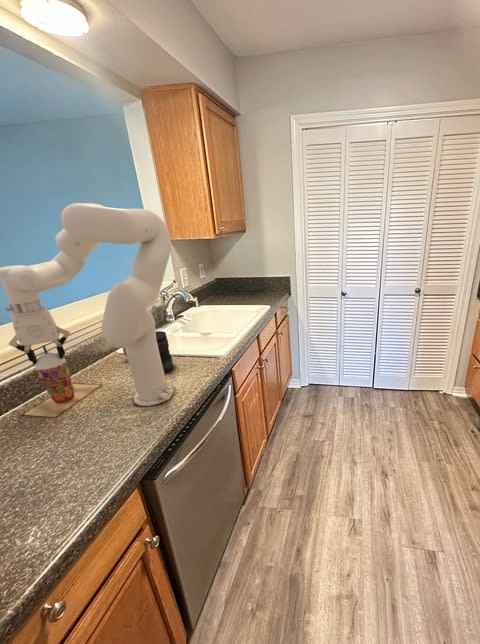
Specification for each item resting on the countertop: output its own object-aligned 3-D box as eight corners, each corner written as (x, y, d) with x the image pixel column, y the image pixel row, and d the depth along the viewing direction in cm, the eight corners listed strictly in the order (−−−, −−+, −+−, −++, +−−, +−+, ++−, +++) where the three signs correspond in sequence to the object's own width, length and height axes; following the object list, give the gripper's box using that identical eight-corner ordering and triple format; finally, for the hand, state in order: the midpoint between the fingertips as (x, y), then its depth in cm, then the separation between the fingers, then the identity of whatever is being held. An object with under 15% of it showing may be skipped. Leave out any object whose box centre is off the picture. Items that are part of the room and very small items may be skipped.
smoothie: (48, 408, 107) (24, 352, 99) (52, 396, 114) (30, 344, 106) (77, 400, 110) (56, 346, 102) (79, 390, 117) (60, 339, 109)
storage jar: (177, 364, 134) (169, 330, 128) (169, 375, 125) (160, 339, 119) (153, 365, 134) (144, 331, 128) (143, 376, 125) (133, 341, 119)
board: (72, 384, 122) (72, 383, 122) (100, 385, 120) (100, 385, 120) (23, 415, 104) (23, 414, 104) (55, 417, 102) (55, 416, 102)
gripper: (-12, 315, 92) (13, 371, 99) (60, 304, 100) (79, 357, 107) (-5, 309, 98) (18, 362, 105) (62, 300, 106) (80, 350, 113)
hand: (48, 359), depth 106 cm, fingers closed on smoothie, 6 cm apart
